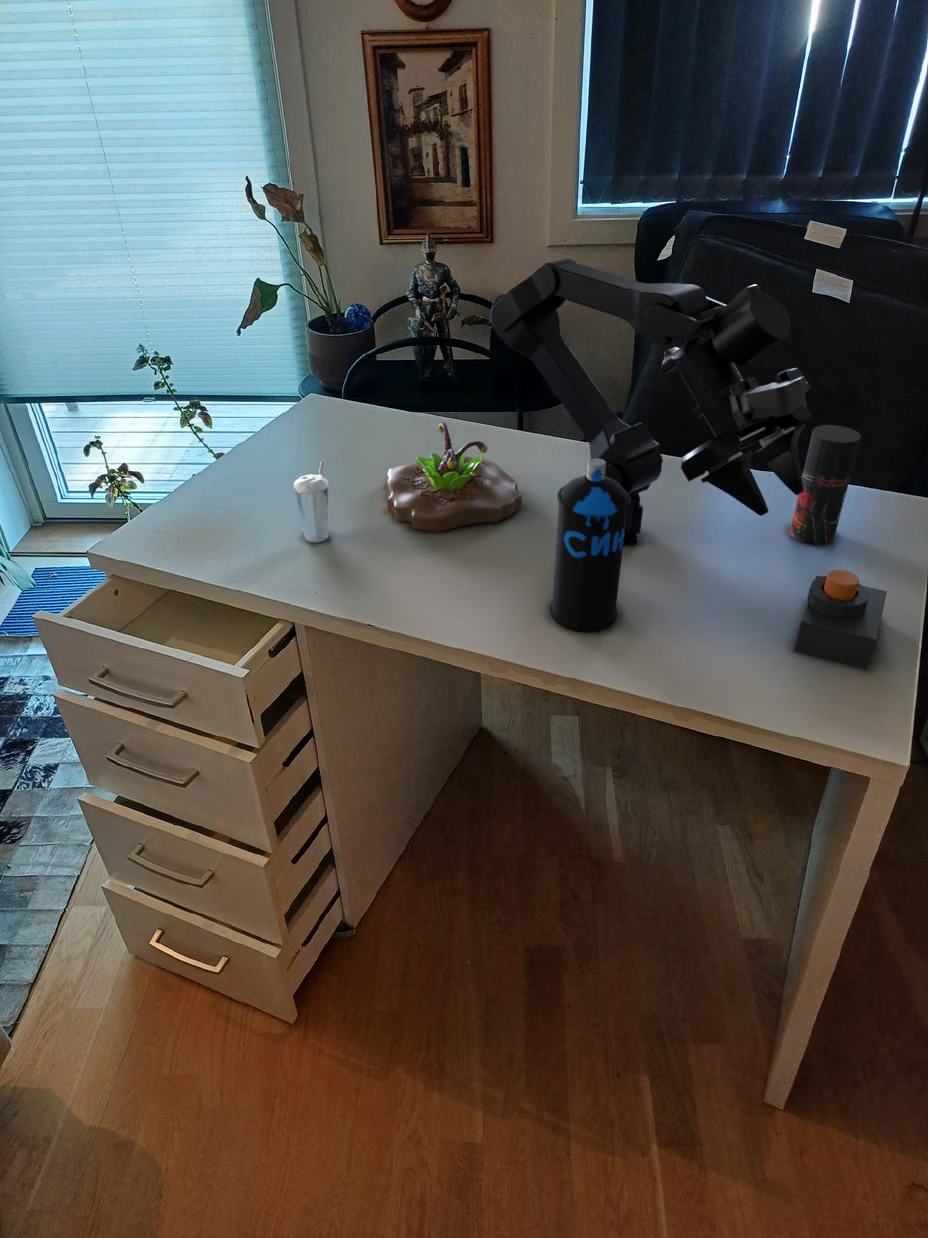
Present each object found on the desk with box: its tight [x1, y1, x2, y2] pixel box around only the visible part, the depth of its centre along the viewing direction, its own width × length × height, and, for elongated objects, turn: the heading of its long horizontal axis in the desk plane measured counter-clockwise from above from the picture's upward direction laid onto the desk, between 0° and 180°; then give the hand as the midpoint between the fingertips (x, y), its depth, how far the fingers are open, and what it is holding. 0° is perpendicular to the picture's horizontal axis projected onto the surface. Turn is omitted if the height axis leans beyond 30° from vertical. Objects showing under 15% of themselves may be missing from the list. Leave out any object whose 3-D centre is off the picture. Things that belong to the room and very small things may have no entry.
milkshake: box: [293, 462, 329, 544], centre depth 123 cm, size 4×5×10 cm
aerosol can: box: [549, 458, 631, 633], centre depth 104 cm, size 8×8×20 cm
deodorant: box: [789, 424, 862, 546], centre depth 122 cm, size 6×6×15 cm
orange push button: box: [824, 569, 860, 600], centre depth 102 cm, size 3×3×2 cm
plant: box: [386, 421, 522, 533], centre depth 132 cm, size 20×20×11 cm
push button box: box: [793, 575, 888, 671], centre depth 104 cm, size 11×8×6 cm
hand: (782, 503), depth 104 cm, fingers open, 7 cm apart
